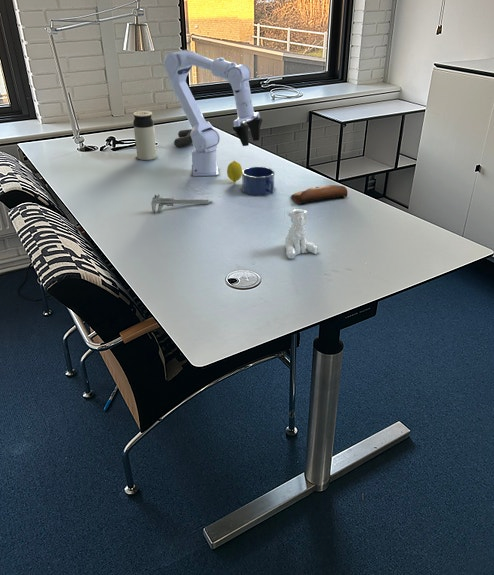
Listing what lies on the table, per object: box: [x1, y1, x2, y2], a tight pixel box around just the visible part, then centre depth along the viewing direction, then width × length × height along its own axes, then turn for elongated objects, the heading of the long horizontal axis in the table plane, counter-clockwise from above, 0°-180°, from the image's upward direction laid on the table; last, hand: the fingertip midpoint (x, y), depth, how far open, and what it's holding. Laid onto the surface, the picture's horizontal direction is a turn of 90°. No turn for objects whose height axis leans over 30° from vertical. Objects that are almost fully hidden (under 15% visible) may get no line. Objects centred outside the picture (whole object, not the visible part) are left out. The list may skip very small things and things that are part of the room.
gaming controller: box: [173, 128, 193, 148], centre depth 234 cm, size 17×6×10 cm
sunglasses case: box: [291, 184, 348, 205], centre depth 179 cm, size 18×7×7 cm
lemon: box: [226, 160, 243, 183], centre depth 191 cm, size 6×6×8 cm
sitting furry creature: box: [284, 208, 319, 260], centre depth 144 cm, size 10×9×12 cm
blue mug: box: [241, 166, 275, 196], centre depth 184 cm, size 14×11×6 cm
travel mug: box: [132, 110, 158, 161], centre depth 213 cm, size 8×8×18 cm
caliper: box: [151, 193, 213, 214], centre depth 171 cm, size 20×1×6 cm, turn 116°
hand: (251, 143), depth 185 cm, fingers open, 7 cm apart
